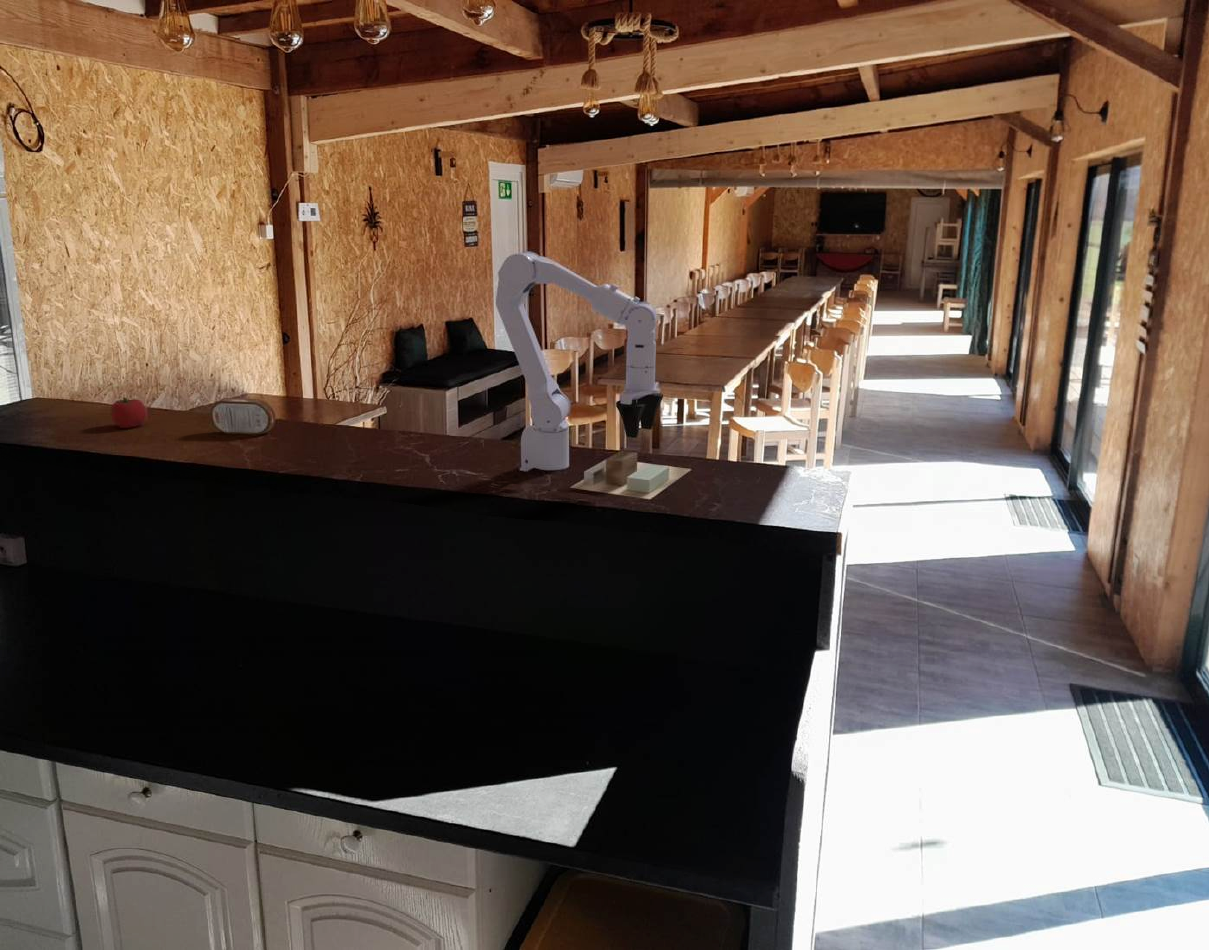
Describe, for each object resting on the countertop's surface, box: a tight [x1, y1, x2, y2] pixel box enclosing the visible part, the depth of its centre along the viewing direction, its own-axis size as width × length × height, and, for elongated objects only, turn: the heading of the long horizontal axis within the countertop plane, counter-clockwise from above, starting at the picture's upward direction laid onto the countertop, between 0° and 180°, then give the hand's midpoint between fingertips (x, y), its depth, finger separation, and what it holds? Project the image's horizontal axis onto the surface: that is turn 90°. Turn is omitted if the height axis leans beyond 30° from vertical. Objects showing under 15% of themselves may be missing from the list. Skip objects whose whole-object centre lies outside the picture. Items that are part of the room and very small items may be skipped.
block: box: [605, 450, 638, 487], centre depth 183 cm, size 4×7×5 cm, turn 155°
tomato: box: [110, 397, 148, 429], centre depth 228 cm, size 8×8×7 cm
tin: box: [209, 397, 276, 436], centre depth 221 cm, size 15×3×8 cm, turn 84°
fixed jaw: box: [583, 459, 606, 486], centre depth 185 cm, size 2×10×2 cm, turn 155°
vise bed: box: [569, 461, 692, 502], centre depth 185 cm, size 16×22×1 cm
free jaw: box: [627, 463, 669, 493], centre depth 180 cm, size 5×10×2 cm, turn 155°
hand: (639, 432), depth 189 cm, fingers open, 7 cm apart
